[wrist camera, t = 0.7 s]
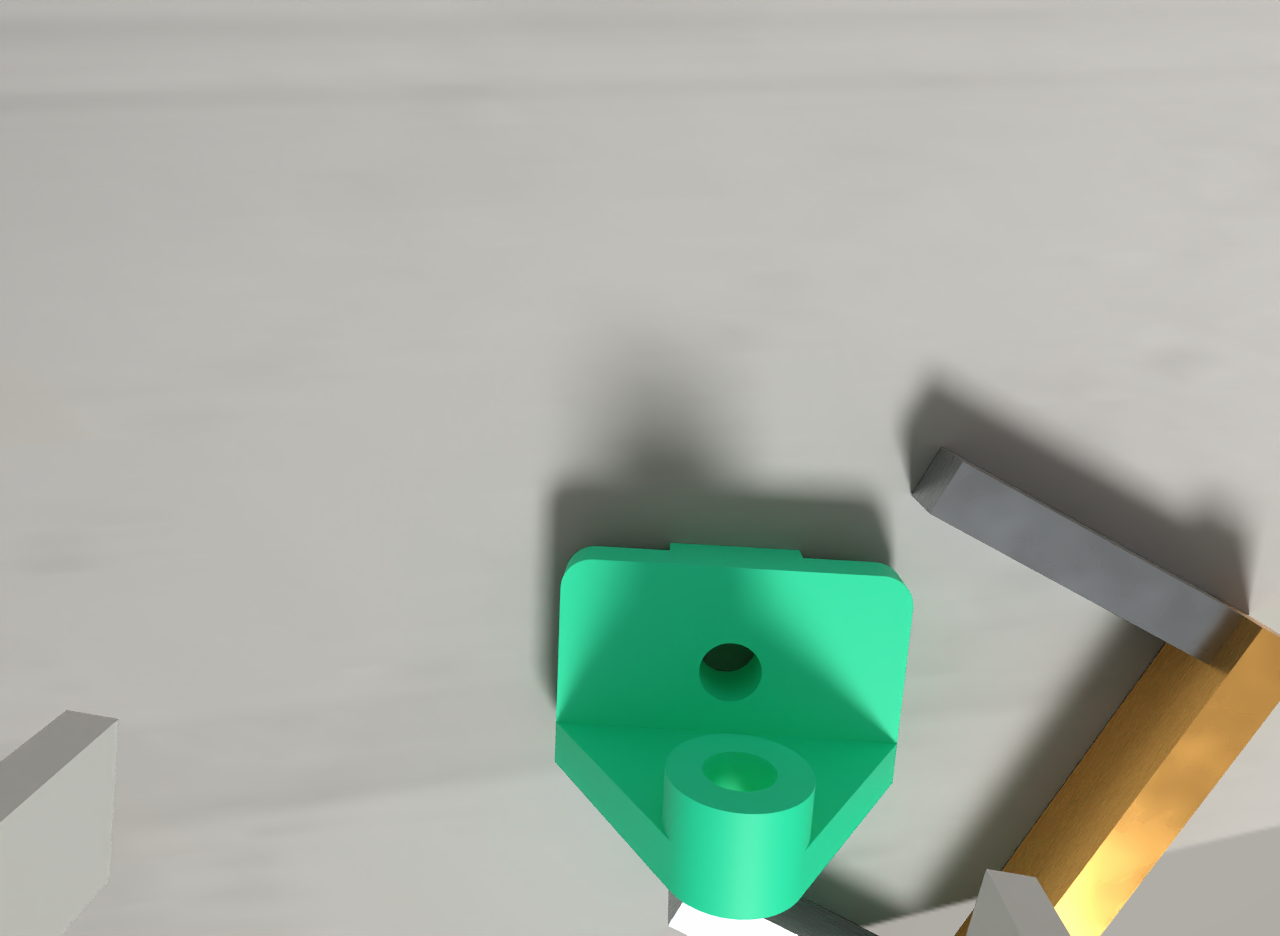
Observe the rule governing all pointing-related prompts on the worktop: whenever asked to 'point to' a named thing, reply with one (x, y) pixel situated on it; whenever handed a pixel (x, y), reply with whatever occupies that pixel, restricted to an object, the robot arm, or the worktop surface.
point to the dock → (1131, 741)
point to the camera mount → (730, 711)
